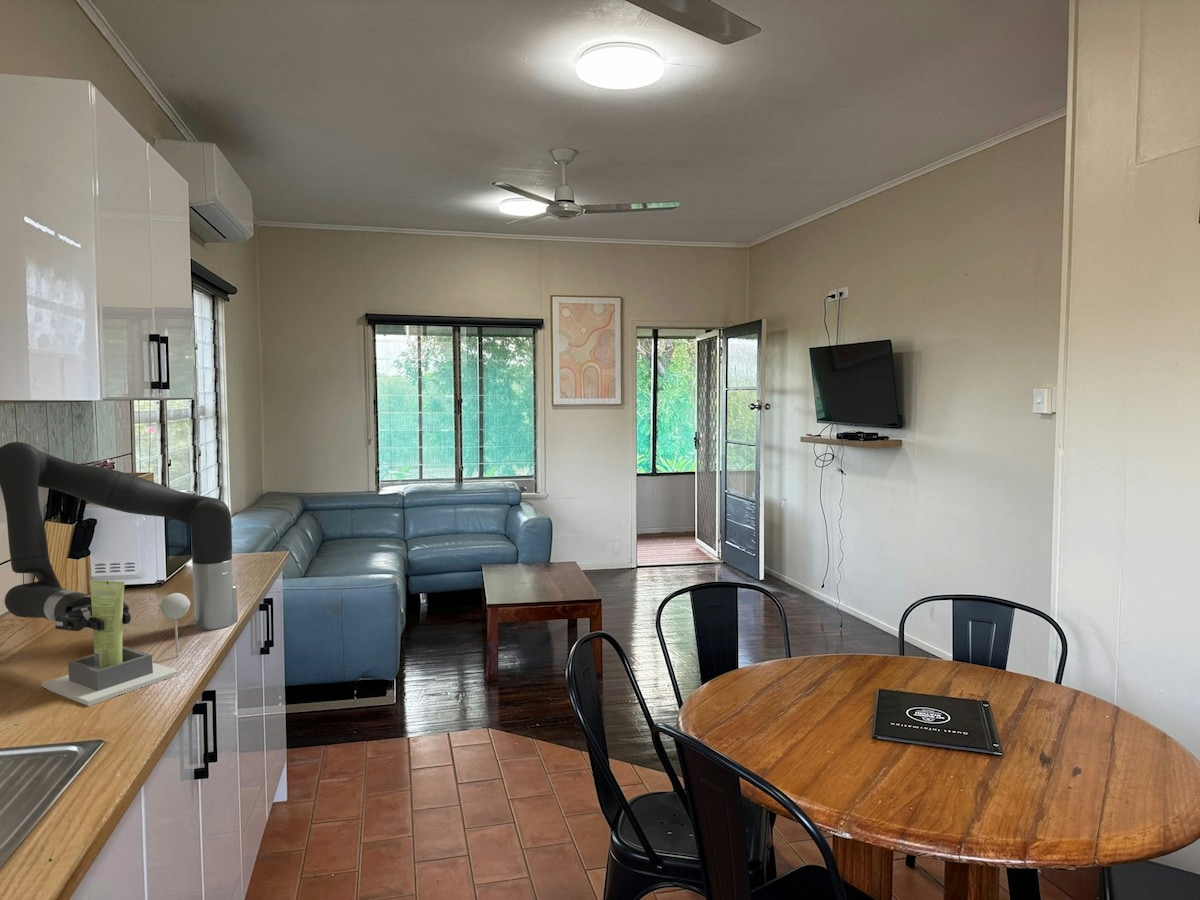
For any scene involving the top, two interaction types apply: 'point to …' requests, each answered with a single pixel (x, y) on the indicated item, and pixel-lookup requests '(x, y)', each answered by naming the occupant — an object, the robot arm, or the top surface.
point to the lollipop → (175, 609)
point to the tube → (107, 621)
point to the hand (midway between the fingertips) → (115, 622)
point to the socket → (108, 677)
